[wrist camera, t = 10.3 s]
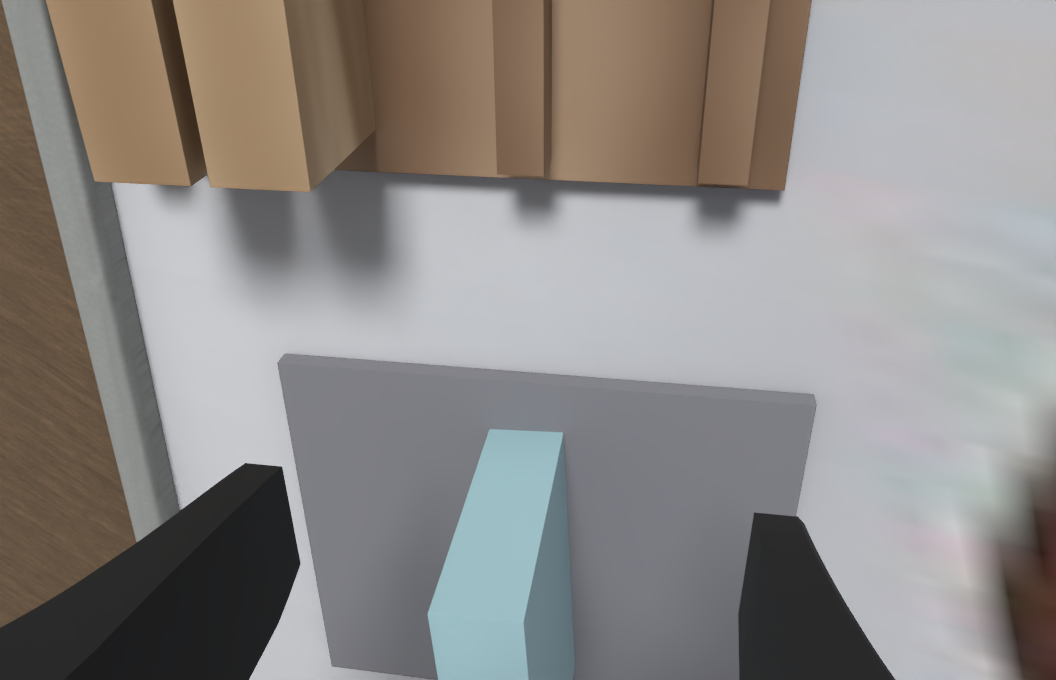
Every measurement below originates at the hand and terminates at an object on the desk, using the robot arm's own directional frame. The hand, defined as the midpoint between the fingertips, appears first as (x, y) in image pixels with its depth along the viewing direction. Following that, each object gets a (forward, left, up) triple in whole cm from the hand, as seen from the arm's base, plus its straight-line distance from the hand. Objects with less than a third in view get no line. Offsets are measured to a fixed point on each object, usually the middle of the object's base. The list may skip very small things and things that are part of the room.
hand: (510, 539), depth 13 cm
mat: (+1, +9, -9) cm, 13 cm away
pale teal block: (+1, +9, -9) cm, 13 cm away
